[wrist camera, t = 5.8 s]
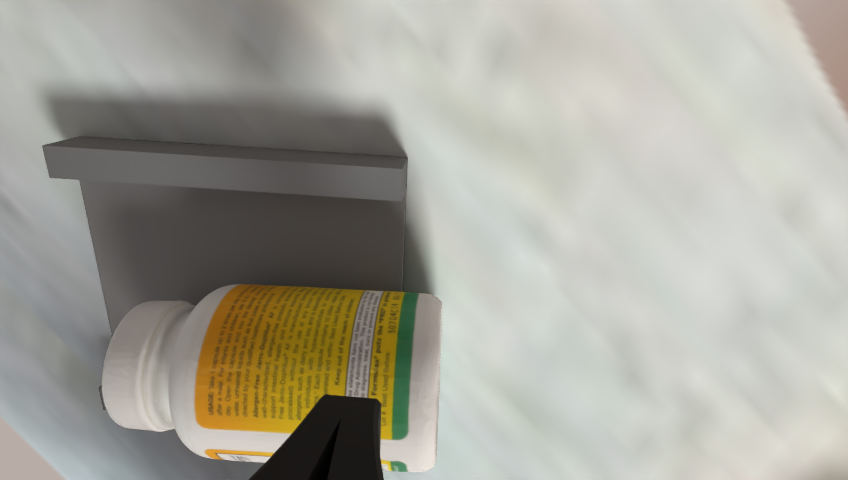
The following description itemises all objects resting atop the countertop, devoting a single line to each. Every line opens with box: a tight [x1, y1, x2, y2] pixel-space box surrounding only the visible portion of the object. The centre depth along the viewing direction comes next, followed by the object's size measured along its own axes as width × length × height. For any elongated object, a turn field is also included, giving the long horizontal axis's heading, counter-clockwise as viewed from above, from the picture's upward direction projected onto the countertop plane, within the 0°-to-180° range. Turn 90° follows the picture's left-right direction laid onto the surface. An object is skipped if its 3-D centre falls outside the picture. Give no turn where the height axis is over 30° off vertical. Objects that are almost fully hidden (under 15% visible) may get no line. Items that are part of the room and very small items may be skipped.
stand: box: [42, 136, 408, 410], centre depth 18 cm, size 10×11×2 cm
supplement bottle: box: [102, 284, 442, 472], centre depth 16 cm, size 5×5×10 cm
